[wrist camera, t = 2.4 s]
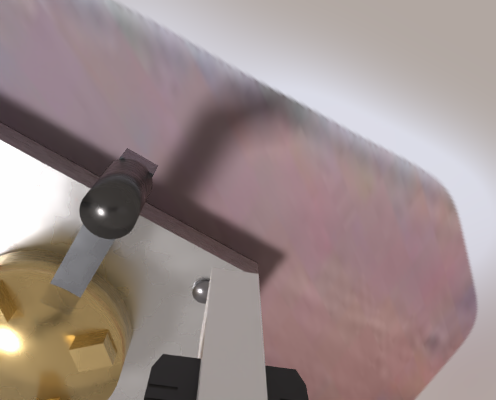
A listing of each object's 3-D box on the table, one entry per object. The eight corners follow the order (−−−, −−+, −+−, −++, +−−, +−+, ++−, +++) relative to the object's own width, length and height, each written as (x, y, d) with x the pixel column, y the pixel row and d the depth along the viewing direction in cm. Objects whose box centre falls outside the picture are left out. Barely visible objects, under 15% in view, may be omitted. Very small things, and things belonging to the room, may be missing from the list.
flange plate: (-132, 343, 33) (-157, 366, 31) (-32, 105, 27) (-55, 113, 25) (122, 447, 38) (116, 473, 35) (257, 263, 31) (259, 282, 29)
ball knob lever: (87, 412, 33) (51, 511, 27) (-67, 348, 31) (-148, 439, 24) (234, 194, 27) (233, 253, 20) (56, 91, 24) (-7, 121, 18)
